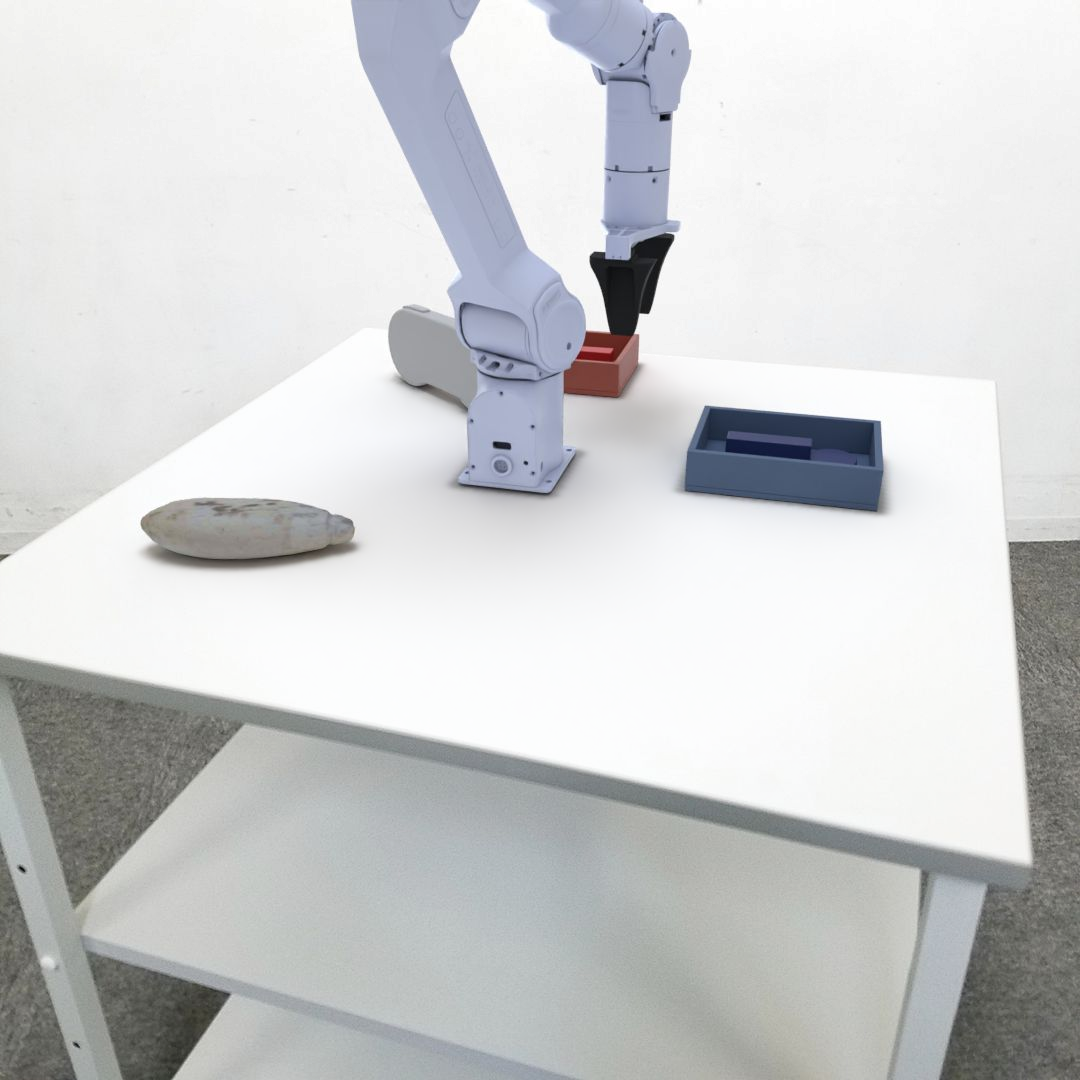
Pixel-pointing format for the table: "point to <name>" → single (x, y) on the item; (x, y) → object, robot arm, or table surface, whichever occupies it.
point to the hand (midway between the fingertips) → (630, 323)
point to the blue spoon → (783, 448)
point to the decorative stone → (244, 527)
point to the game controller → (431, 352)
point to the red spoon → (596, 354)
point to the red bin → (603, 366)
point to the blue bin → (787, 459)
